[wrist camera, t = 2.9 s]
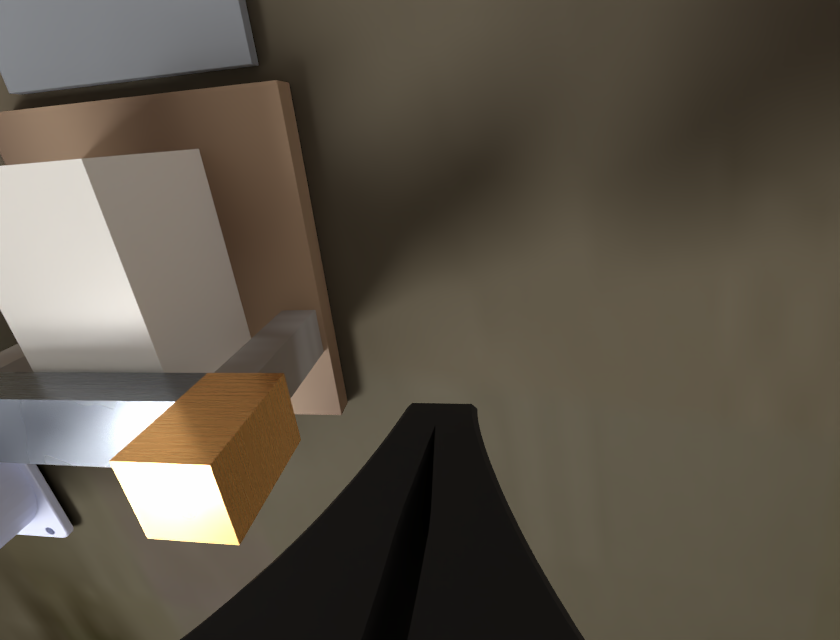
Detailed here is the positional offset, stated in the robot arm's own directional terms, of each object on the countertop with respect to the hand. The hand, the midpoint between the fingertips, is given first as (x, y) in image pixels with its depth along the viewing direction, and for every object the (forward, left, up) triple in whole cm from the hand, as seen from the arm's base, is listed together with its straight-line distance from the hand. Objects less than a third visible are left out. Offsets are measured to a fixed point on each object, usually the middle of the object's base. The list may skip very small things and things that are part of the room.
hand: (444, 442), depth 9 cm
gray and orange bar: (-9, 0, -1) cm, 9 cm away
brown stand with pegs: (-9, +2, -6) cm, 11 cm away
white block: (-9, +2, -5) cm, 11 cm away
